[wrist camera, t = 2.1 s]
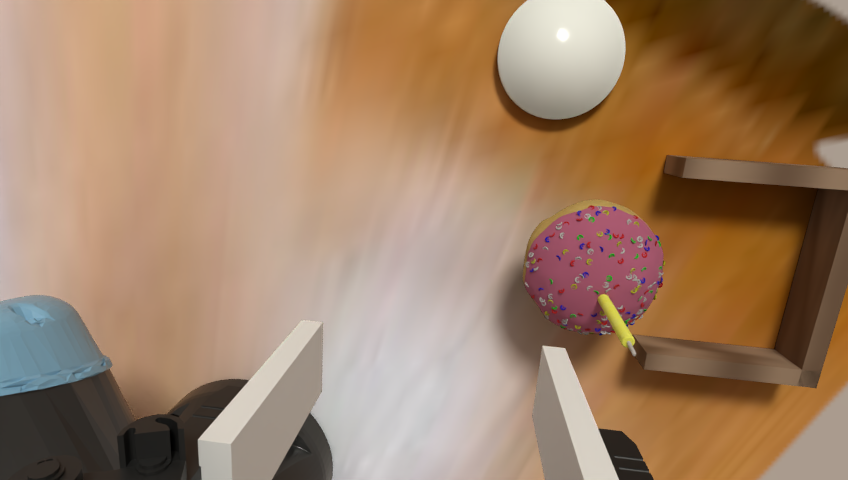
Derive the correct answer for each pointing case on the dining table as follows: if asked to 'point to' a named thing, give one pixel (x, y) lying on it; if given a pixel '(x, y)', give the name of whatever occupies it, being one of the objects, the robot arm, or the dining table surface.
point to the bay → (810, 292)
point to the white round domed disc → (561, 56)
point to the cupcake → (594, 268)
